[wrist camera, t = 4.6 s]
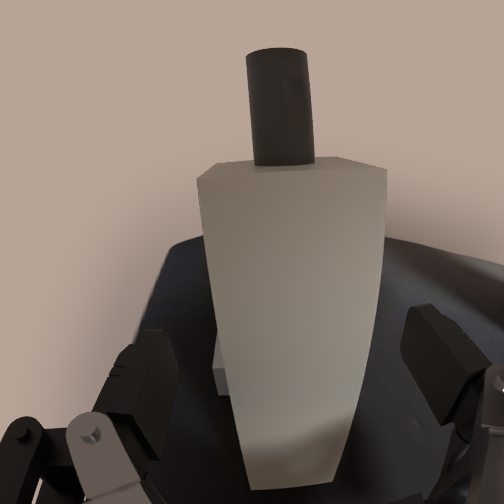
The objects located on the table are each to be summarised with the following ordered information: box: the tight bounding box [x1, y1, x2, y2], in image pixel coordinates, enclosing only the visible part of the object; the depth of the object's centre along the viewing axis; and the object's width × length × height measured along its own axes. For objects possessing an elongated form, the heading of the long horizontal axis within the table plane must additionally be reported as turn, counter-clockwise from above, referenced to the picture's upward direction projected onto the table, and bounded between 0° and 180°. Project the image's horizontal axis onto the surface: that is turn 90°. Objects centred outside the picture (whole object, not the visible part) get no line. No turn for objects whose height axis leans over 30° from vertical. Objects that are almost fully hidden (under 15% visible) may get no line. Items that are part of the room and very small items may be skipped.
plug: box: [197, 48, 387, 490], centre depth 10 cm, size 4×4×17 cm
